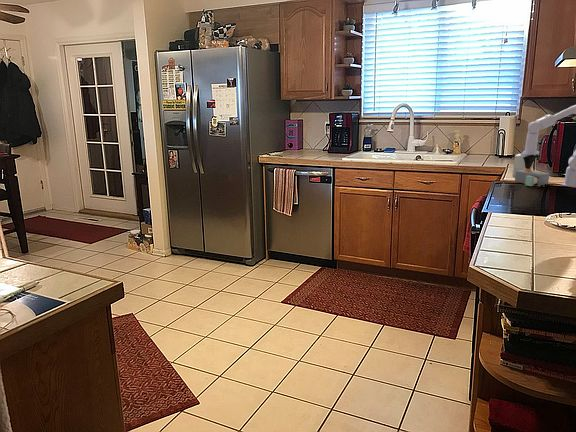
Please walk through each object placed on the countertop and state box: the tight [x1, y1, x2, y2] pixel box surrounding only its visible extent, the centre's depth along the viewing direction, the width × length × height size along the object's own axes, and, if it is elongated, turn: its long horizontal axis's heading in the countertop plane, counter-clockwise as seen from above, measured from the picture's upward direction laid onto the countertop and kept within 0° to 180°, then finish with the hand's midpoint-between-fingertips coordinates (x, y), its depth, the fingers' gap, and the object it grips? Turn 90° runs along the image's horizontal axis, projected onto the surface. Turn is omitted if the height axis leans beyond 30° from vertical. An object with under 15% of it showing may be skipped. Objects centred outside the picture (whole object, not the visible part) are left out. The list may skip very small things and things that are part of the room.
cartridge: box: [524, 175, 539, 187], centre depth 259 cm, size 12×4×5 cm, turn 122°
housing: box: [514, 169, 550, 187], centre depth 264 cm, size 9×14×6 cm, turn 32°
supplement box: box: [512, 153, 525, 178], centre depth 279 cm, size 7×7×13 cm
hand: (527, 168), depth 265 cm, fingers closed, pressing on plunger
